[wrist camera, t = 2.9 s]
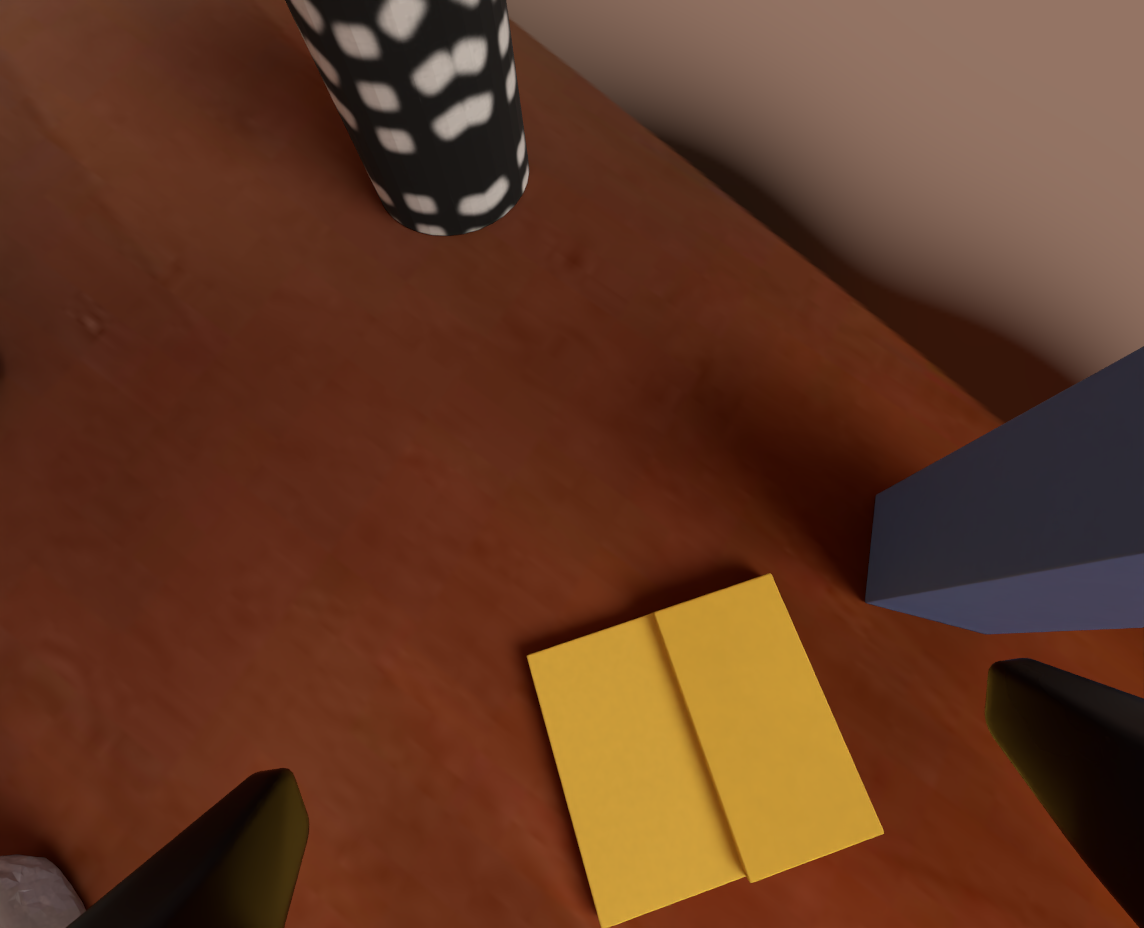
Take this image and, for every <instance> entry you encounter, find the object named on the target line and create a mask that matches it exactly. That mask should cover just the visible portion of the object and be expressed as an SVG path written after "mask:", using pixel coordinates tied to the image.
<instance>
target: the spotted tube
mask: <svg viewBox="0 0 1144 928" xmlns="http://www.w3.org/2000/svg"><path fill="white" fill-rule="evenodd" d="M285 1H286V3H287V5H288V7H289V10H290V12H291V14H292V16H293V18H294V20H295V22H296V24H297V26H298V28H299V30H300V33H301V35H302V37H303V39H304V41H305V43H306V45H307V47H308V49H309V51H310V53H311V56H312V58H313V60H314V62H315V64H316V66H317V68H318V70H319V72H320V74H321V76H322V79H323V81H324V83H325V85H326V87H327V89H328V91H329V93H330V95H331V97H332V99H333V102H334V104H335V106H336V108H337V110H338V112H339V114H340V116H341V118H342V120H343V122H344V125H345V127H346V129H347V131H348V133H349V135H350V137H351V139H352V141H353V143H354V145H355V148H356V150H357V152H358V154H359V156H360V158H361V160H362V162H363V164H364V166H365V168H366V171H367V173H368V175H369V177H370V179H371V181H372V183H373V185H374V187H375V189H376V192H377V194H378V196H379V198H380V200H381V202H382V204H383V205H384V207H385V209H386V210H387V211H388V213H389V214H390V215H391V216H392V217H393V218H394V219H395V220H397V221H398V222H400V223H401V224H402V225H404V226H406V227H408V228H410V229H413V230H415V231H417V232H422V233H426V234H431V235H445V236H449V235H458V234H464V233H468V232H472V231H475V230H479V229H481V228H483V227H485V226H488V225H490V224H492V223H494V222H495V221H497V220H498V219H500V218H501V217H503V216H504V215H505V214H506V213H507V212H508V211H509V210H510V209H511V208H513V207H514V206H515V204H516V203H517V201H518V200H519V199H520V197H521V196H522V194H523V192H524V189H525V187H526V185H527V182H528V175H529V164H528V155H527V148H526V141H525V133H524V126H523V119H522V112H521V105H520V97H519V90H518V83H517V76H516V68H515V61H514V54H513V47H512V39H511V32H510V25H509V18H508V10H507V3H506V0H285Z"/></svg>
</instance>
